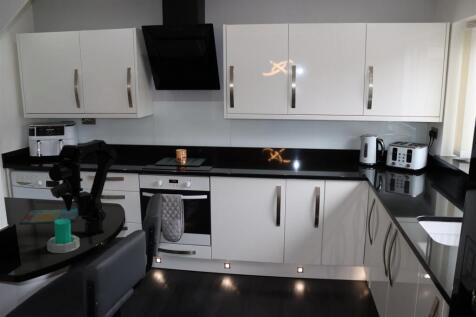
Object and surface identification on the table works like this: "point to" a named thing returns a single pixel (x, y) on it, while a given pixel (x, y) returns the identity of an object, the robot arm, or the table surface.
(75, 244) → the candle dish
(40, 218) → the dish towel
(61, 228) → the candle
